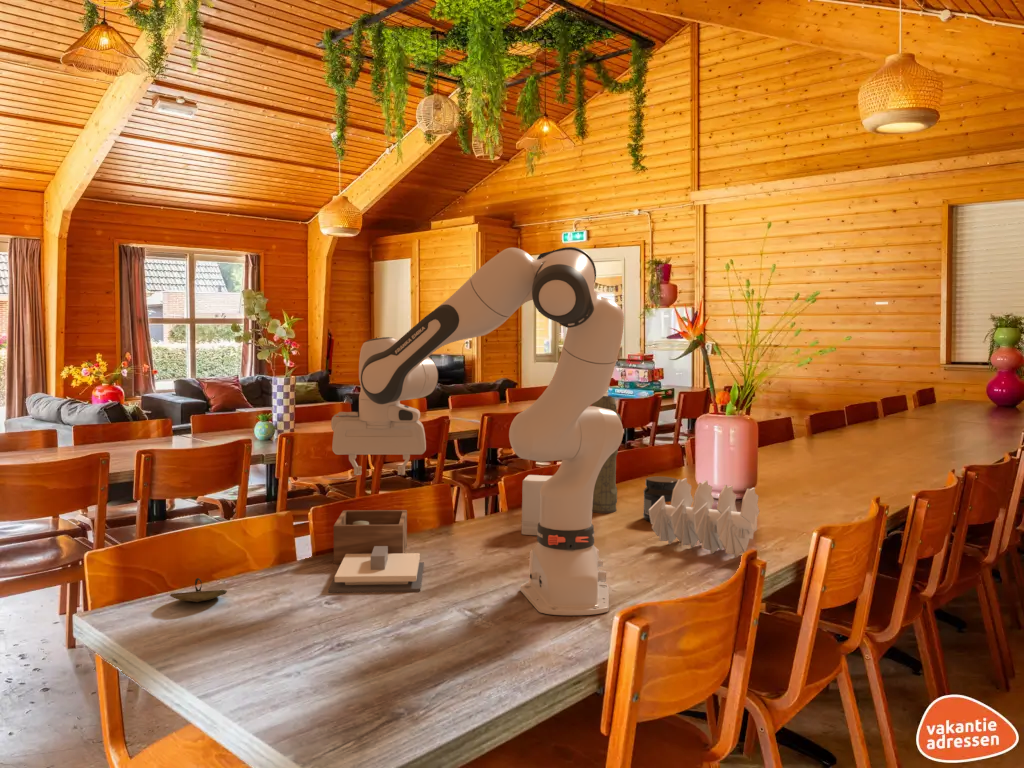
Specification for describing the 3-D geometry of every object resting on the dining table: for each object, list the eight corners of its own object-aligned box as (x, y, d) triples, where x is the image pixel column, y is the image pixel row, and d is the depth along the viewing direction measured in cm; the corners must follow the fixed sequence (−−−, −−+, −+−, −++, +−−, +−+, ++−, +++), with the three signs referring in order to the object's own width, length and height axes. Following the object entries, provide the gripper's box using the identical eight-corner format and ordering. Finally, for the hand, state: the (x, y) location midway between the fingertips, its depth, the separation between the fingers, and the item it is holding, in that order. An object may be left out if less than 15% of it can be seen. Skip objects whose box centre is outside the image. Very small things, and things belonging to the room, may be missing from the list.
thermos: (612, 515, 238) (614, 398, 236) (578, 509, 245) (580, 396, 243) (626, 510, 245) (628, 396, 243) (593, 504, 252) (595, 394, 250)
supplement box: (553, 537, 213) (554, 481, 212) (520, 535, 214) (521, 480, 213) (558, 528, 221) (559, 475, 220) (527, 527, 223) (527, 474, 222)
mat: (420, 591, 167) (420, 588, 167) (328, 592, 166) (328, 589, 166) (423, 564, 186) (423, 562, 186) (341, 565, 185) (341, 563, 185)
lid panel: (416, 586, 169) (416, 561, 168) (334, 587, 167) (334, 562, 167) (419, 563, 185) (419, 540, 185) (345, 564, 184) (345, 541, 184)
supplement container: (686, 522, 231) (687, 481, 230) (655, 525, 227) (656, 483, 226) (666, 514, 240) (667, 475, 239) (636, 517, 236) (637, 477, 236)
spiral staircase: (669, 553, 213) (761, 566, 197) (640, 537, 200) (736, 549, 184) (681, 487, 218) (771, 495, 203) (653, 467, 205) (747, 474, 190)
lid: (167, 615, 152) (167, 589, 152) (172, 598, 162) (172, 574, 162) (226, 609, 156) (225, 584, 155) (227, 593, 165) (227, 569, 165)
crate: (402, 563, 188) (402, 525, 187) (333, 563, 186) (333, 525, 186) (406, 544, 203) (406, 510, 203) (343, 545, 202) (343, 510, 202)
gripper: (328, 413, 170) (329, 477, 171) (425, 413, 172) (425, 477, 172) (333, 410, 176) (333, 472, 177) (426, 410, 178) (426, 471, 179)
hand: (379, 474), depth 175 cm, fingers open, 8 cm apart
